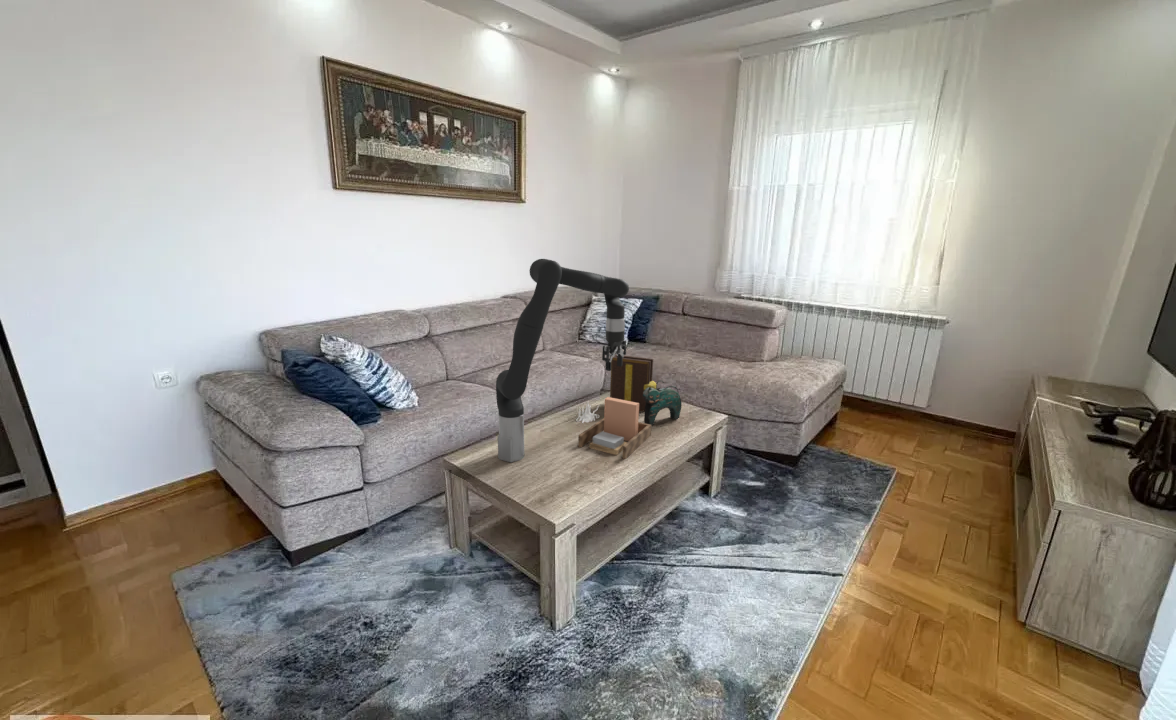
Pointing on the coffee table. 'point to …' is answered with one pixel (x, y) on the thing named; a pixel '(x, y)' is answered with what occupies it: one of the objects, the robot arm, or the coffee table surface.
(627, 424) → the salmon orange rectangular slab
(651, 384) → the book
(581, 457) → the coffee table surface
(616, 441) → the offcut top
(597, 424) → the wooden tray
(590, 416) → the white tentacle figurine
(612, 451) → the offcut bottom
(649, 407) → the ceramic cat
